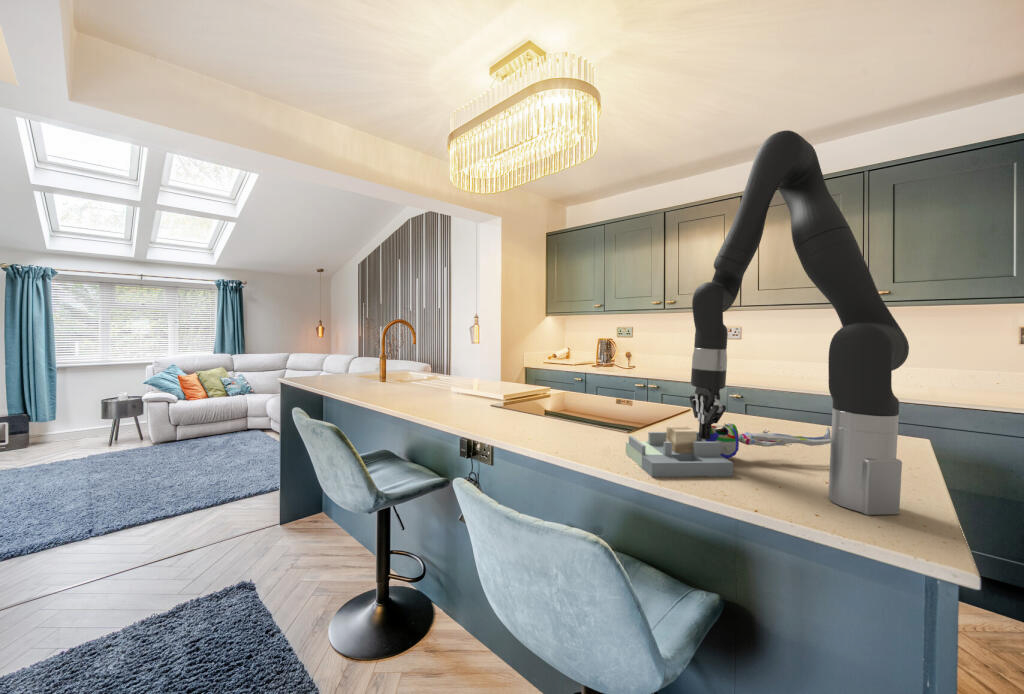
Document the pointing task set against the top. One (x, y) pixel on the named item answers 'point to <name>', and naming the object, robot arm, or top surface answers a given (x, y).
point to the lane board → (678, 458)
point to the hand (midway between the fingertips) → (704, 438)
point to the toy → (757, 439)
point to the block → (681, 438)
